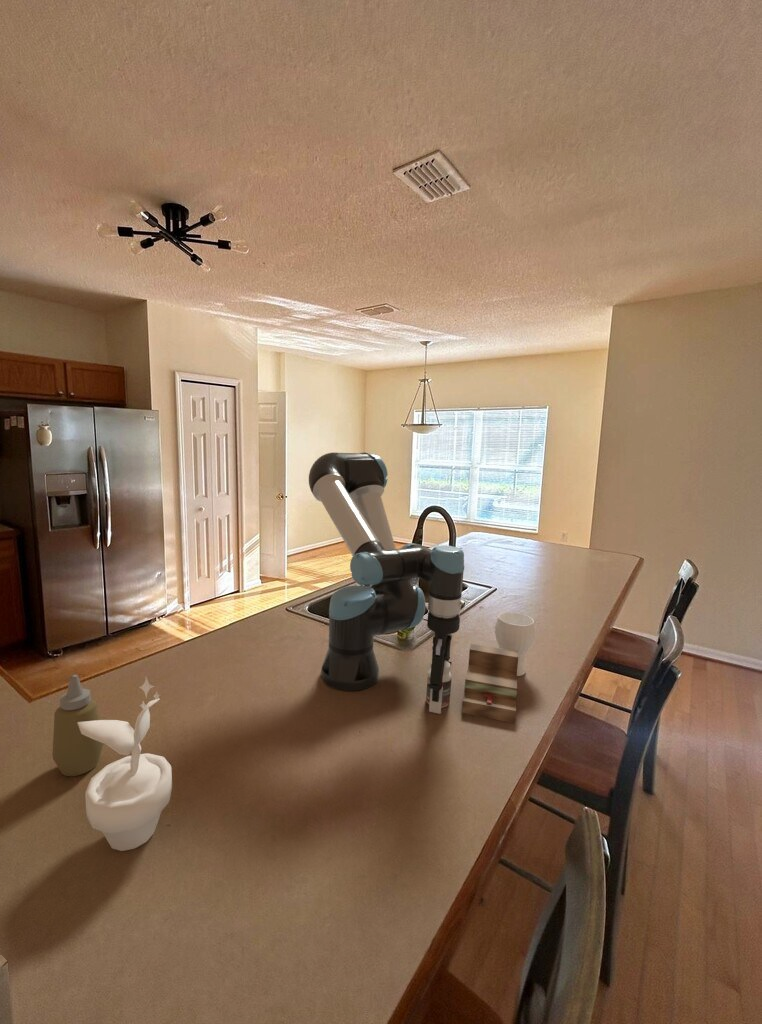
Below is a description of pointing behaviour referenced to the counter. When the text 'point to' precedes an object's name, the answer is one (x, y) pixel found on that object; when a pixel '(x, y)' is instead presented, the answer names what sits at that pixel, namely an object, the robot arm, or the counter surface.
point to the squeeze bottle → (75, 731)
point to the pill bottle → (445, 683)
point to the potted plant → (127, 782)
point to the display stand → (491, 683)
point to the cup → (515, 635)
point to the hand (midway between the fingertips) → (438, 700)
